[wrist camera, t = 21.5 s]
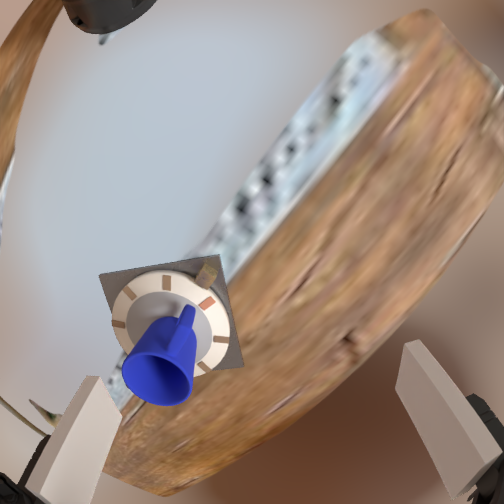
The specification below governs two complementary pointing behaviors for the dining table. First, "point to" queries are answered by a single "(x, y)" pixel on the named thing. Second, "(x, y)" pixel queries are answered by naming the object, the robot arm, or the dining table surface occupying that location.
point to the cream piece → (172, 313)
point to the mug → (163, 360)
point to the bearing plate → (189, 269)
